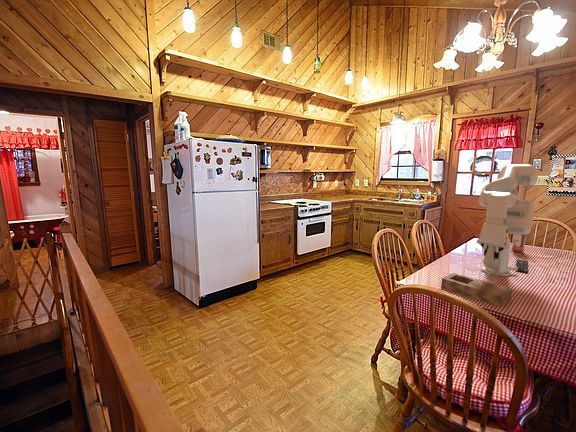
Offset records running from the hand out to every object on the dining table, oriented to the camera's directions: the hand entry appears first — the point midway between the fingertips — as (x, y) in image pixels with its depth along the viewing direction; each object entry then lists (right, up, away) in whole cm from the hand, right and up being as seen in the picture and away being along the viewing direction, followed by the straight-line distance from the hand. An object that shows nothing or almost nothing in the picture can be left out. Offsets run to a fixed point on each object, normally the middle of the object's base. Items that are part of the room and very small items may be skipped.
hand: (490, 258), depth 137 cm
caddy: (-12, -15, -7) cm, 20 cm away
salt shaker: (0, -4, +1) cm, 5 cm away
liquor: (+58, -4, +57) cm, 82 cm away
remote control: (+38, -10, +28) cm, 48 cm away
